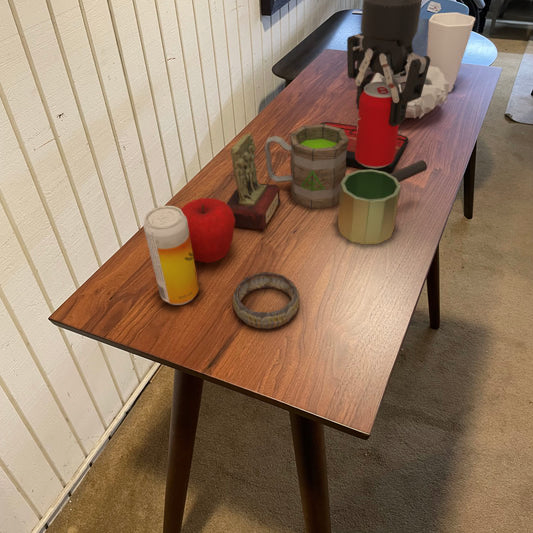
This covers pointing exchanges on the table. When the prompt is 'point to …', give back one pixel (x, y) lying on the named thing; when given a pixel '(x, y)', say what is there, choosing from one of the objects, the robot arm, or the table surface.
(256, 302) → the table surface
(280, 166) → the table surface
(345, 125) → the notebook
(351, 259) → the table surface
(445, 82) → the bowl
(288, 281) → the decorative ring
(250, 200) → the sculpture
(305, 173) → the mug
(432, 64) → the cup
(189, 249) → the beer can
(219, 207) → the apple
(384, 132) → the beverage can
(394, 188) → the pot
